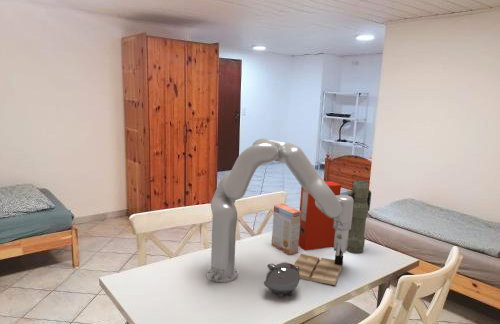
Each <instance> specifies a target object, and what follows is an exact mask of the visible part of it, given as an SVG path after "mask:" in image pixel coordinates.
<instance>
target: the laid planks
mask: <svg viewBox="0 0 500 324" xmlns="http://www.w3.org/2000/svg"><path fill="white" fill-rule="evenodd" d="M320 260H321V259H320V257H318V256H315V255H310V254H309V255H308V254H304V253H300V255H299V256H298V258H297V259H296V261H295V262H294V264H293V265H294V266H299V268H300V271H299V274H300V280H305V281H308V282H309V281H310V282H312V276H313V274H314V272H315V270H316V268H317V266H318V264H319V262H320Z"/></svg>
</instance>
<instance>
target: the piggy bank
mask: <svg viewBox="0 0 500 324" xmlns="http://www.w3.org/2000/svg"><path fill="white" fill-rule="evenodd" d="M267 269H268V271H267V273H266V277H265V280H264V282H263V285H264V287H265V288H267V289H269V291H271V292H273V293H275V294H277V296H278V297H277V298H279V299H283V298H284V296H285V294H288V295H289V296H290V297H293V296H294V294H295V290H296V289H297V288H298V286H299V284H300V281H301V279H300V274H299V271H300V268H299V266H294V264H292V263H289V262H279V263H276V264H274V263H269V264H267Z"/></svg>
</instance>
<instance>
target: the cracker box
mask: <svg viewBox="0 0 500 324" xmlns="http://www.w3.org/2000/svg"><path fill="white" fill-rule="evenodd" d="M272 215H273V218H272V232H271V246H274V247H275V248H277V249H279V250H280V251H282V252H283V253H285V254H287V255H289V256H290V255H294V254H297V253H299V246H298V245H299V232H300V219H301V211H300V209H296V208H294V207H292V206H289V205H287V204H284V203H278V204H273V214H272Z"/></svg>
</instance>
